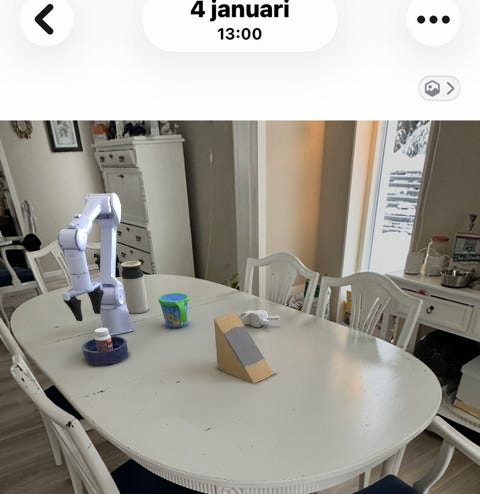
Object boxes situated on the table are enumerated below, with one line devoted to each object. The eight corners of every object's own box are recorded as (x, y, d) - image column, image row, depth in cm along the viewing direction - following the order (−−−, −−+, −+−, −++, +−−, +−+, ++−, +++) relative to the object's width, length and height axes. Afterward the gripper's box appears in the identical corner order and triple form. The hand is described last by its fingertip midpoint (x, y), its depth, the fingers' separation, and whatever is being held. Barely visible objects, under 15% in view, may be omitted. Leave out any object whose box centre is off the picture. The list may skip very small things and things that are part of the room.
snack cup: (197, 329, 164) (194, 300, 159) (168, 334, 161) (164, 305, 155) (184, 316, 176) (181, 289, 171) (157, 321, 173) (153, 293, 168)
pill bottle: (113, 358, 144) (108, 331, 139) (97, 359, 143) (92, 333, 139) (115, 352, 148) (110, 326, 143) (99, 353, 147) (94, 327, 143)
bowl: (121, 346, 153) (118, 333, 151) (134, 359, 143) (132, 345, 141) (80, 355, 148) (77, 341, 146) (91, 370, 138) (87, 355, 136)
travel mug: (152, 309, 186) (145, 262, 176) (138, 315, 180) (131, 266, 170) (137, 306, 189) (130, 260, 180) (123, 312, 184) (115, 264, 174)
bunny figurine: (251, 306, 171) (282, 309, 161) (252, 320, 173) (283, 324, 163) (232, 313, 165) (263, 316, 155) (234, 327, 168) (265, 331, 158)
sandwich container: (254, 384, 126) (252, 330, 118) (216, 368, 136) (213, 318, 128) (275, 373, 131) (275, 321, 123) (237, 359, 141) (235, 310, 133)
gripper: (69, 279, 133) (80, 326, 140) (106, 268, 143) (114, 312, 150) (52, 277, 136) (64, 322, 143) (89, 266, 146) (98, 309, 154)
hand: (88, 317), depth 147 cm, fingers open, 7 cm apart
